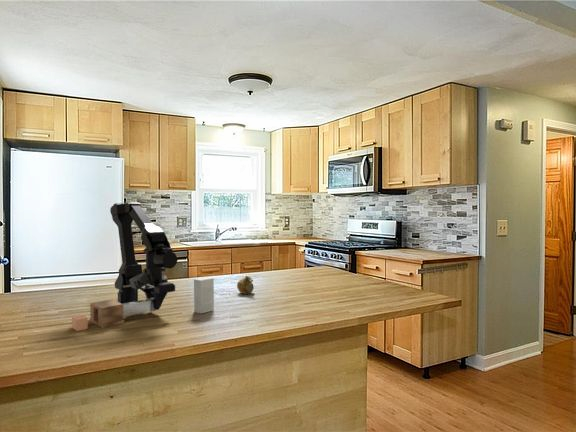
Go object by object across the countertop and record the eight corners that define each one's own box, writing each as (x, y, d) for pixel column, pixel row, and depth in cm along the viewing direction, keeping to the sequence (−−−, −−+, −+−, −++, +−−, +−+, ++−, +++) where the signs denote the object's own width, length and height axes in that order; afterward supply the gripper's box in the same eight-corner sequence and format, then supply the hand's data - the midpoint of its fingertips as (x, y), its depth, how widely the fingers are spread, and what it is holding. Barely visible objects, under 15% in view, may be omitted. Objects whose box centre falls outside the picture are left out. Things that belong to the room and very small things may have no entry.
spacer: (81, 314, 129) (71, 316, 127) (87, 317, 126) (77, 319, 124) (81, 326, 129) (71, 328, 127) (87, 329, 126) (77, 331, 124)
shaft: (151, 308, 146) (151, 297, 146) (156, 310, 144) (156, 298, 144) (101, 318, 133) (100, 306, 133) (105, 320, 130) (105, 308, 130)
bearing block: (110, 317, 138) (110, 299, 138) (124, 323, 132) (124, 304, 132) (89, 321, 133) (89, 302, 133) (102, 328, 127) (102, 308, 126)
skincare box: (206, 308, 151) (206, 276, 151) (214, 310, 148) (214, 278, 148) (193, 311, 146) (193, 278, 146) (200, 313, 144) (201, 280, 143)
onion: (255, 291, 181) (256, 273, 180) (252, 295, 173) (252, 277, 172) (239, 291, 181) (239, 273, 181) (235, 295, 173) (235, 276, 173)
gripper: (120, 264, 145) (120, 308, 145) (146, 271, 132) (146, 318, 133) (149, 261, 153) (149, 302, 154) (176, 267, 140) (176, 311, 141)
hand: (154, 308), depth 145 cm, fingers open, 4 cm apart
